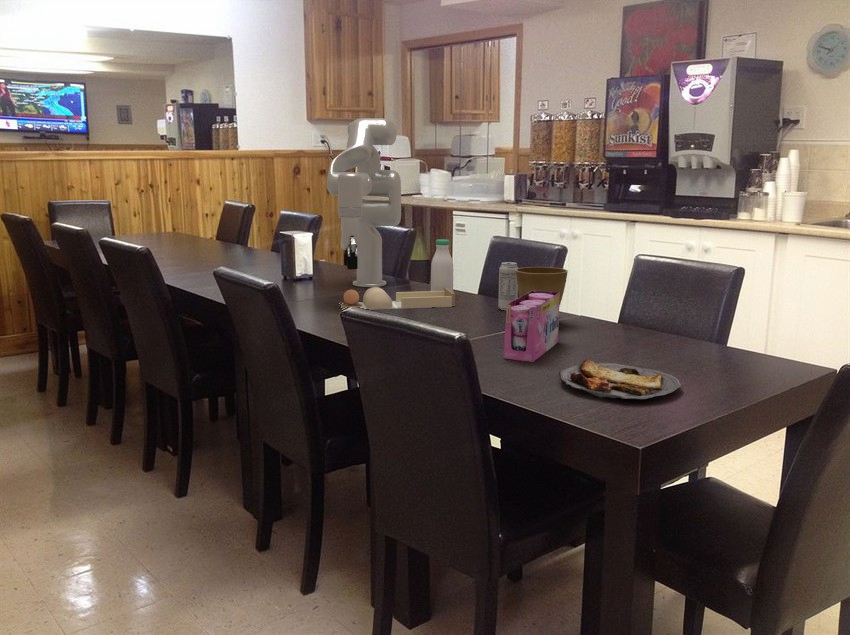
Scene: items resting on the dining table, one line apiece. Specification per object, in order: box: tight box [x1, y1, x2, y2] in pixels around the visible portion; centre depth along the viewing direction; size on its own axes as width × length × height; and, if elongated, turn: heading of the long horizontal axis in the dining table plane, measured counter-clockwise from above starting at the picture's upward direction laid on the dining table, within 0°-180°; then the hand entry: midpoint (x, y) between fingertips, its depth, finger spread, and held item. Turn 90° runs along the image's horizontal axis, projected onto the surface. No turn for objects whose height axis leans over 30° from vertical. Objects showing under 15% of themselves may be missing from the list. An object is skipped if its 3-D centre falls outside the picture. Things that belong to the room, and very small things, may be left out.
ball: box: [343, 289, 360, 305], centre depth 247 cm, size 5×5×5 cm
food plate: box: [558, 358, 682, 400], centre depth 165 cm, size 25×23×4 cm
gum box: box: [503, 290, 561, 363], centre depth 193 cm, size 24×8×14 cm, turn 156°
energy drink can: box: [497, 261, 519, 311], centre depth 244 cm, size 6×6×15 cm
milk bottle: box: [430, 238, 454, 292], centre depth 263 cm, size 8×8×20 cm
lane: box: [338, 287, 456, 311], centre depth 251 cm, size 11×36×8 cm, turn 102°
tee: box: [340, 300, 362, 308], centre depth 248 cm, size 7×7×1 cm
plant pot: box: [516, 266, 568, 307], centre depth 224 cm, size 15×15×16 cm
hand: (350, 267), depth 245 cm, fingers open, 9 cm apart
